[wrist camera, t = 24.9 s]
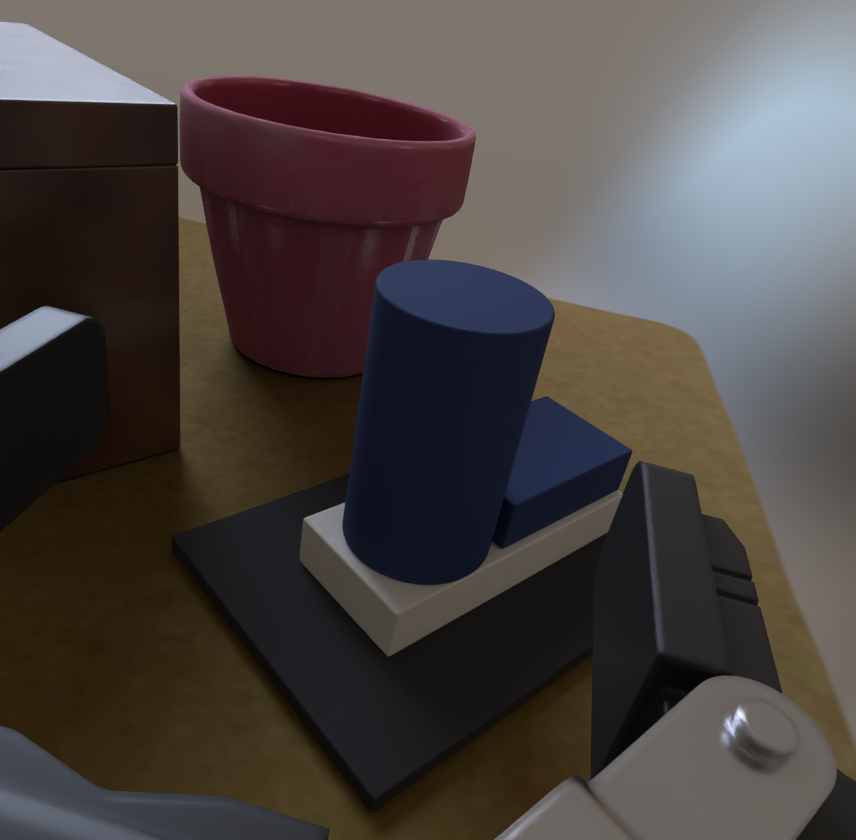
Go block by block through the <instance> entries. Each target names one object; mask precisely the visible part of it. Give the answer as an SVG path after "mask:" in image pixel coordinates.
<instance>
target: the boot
mask: <svg viewBox="0 0 856 840" xmlns="http://www.w3.org/2000/svg"><path fill="white" fill-rule="evenodd" d="M554 317H555V313H554V308H553V306H552V304H551V302H550V301H549V300H548V299H547V298H546V296H544V295H543V294H542V293H541V292H539V291H538V290H537V289H535V288H534V287H532V286H531V285H529V284H527V283H525V282H523V281H521V280H519V279H517V278H515V277H512V276H510V275H507V274H505V273H502V272H499V271H496V270H493V269H489V268H486V267H481V266H477V265H473V264H468V263H461V262H455V261H446V260H414V261H406V262H401V263H397V264H394V265H392V266H389V267H387V268H386V269H384V270H383V271H382V272H381V273H380V274H379V275H378V277H377V279H376V285H375V292H374V299H373V306H372V313H371V321H370V328H369V335H368V342H367V349H366V356H365V364H364V371H363V378H362V385H361V392H360V399H359V407H358V414H357V421H356V428H355V435H354V443H353V450H352V457H351V464H350V471H349V478H348V486H347V493H346V500H345V503H342V504H340V505H337V506H335V507H332V508H329V509H327V510H324V511H321V512H319V513H316V514H314V515H311V516H308V517H306V518H304V520H303V529H302V539H301V548H300V558H299V559H300V561H301V563H302V564H303V565H304V566H305V567H306V568H307V569H308V570H309V571H310V572H311V573H312V575H313V576H314V577H315V578H316V579H317V580H318V581H319V582H320V583H321V584H322V585H323V587H324V588H325V589H326V590H327V591H328V592H329V593H330V594H331V595H332V596H333V597H334V599H335V600H336V601H337V602H338V603H339V604H340V605H341V606H342V607H343V608H344V609H345V611H346V612H347V613H348V614H349V615H350V616H351V617H352V618H353V619H354V620H355V621H356V623H357V624H358V625H359V626H360V627H361V628H362V629H363V630H364V631H365V632H366V633H367V635H368V636H369V637H370V638H371V639H372V640H373V641H374V642H375V643H376V644H377V646H378V647H379V648H380V649H381V650H382V651H383V652H384V653H385V654H386V655H387V656H388V657H389V656H391V655H393V654H395V653H396V652H398V651H400V650H402V649H404V648H405V647H407V646H409V645H411V644H412V643H414V642H416V641H418V640H419V639H421V638H423V637H425V636H426V635H428V634H430V633H432V632H433V631H435V630H437V629H439V628H440V627H442V626H444V625H446V624H447V623H449V622H451V621H453V620H454V619H456V618H458V617H460V616H462V615H463V614H465V613H467V612H469V611H470V610H472V609H474V608H476V607H477V606H479V605H481V604H483V603H484V602H486V601H488V600H490V599H491V598H493V597H495V596H497V595H498V594H500V593H502V592H504V591H505V590H507V589H509V588H511V587H512V586H514V585H516V584H518V583H519V582H521V581H523V580H525V579H527V578H528V577H530V576H532V575H534V574H535V573H537V572H539V571H541V570H542V569H544V568H546V567H548V566H549V565H551V564H553V563H555V562H556V561H558V560H560V559H562V558H563V557H565V556H567V555H569V554H570V553H572V552H574V551H576V550H577V549H579V548H581V547H583V546H585V545H586V544H588V543H590V542H592V541H593V540H595V539H597V538H599V537H600V536H602V535H604V534H606V533H607V532H608V530H609V528H610V525H611V523H612V520H613V518H614V515H615V513H616V510H617V508H618V505H619V503H620V500H621V497H622V495H623V494H622V493H620V492H619V491H617V490H618V488H619V486H620V483H621V481H622V478H623V475H624V473H625V470H626V467H627V465H628V462H629V459H630V457H631V454H632V450H631V449H629V448H628V447H626V446H625V445H623V444H621V443H620V442H618V441H617V440H615V439H614V438H612V437H610V436H609V435H607V434H606V433H604V432H603V431H601V430H599V429H598V428H596V427H595V426H593V425H591V424H590V423H588V422H587V421H585V420H584V419H582V418H580V417H579V416H577V415H576V414H574V413H573V412H571V411H569V410H568V409H566V408H565V407H563V406H561V405H560V404H558V403H557V402H555V401H554V400H552V399H550V398H549V397H543V398H540V399H538V400H535V401H532V402H531V399H532V396H533V392H534V389H535V385H536V382H537V378H538V374H539V371H540V367H541V364H542V360H543V357H544V353H545V350H546V346H547V342H548V339H549V335H550V332H551V328H552V325H553V321H554Z"/></svg>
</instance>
